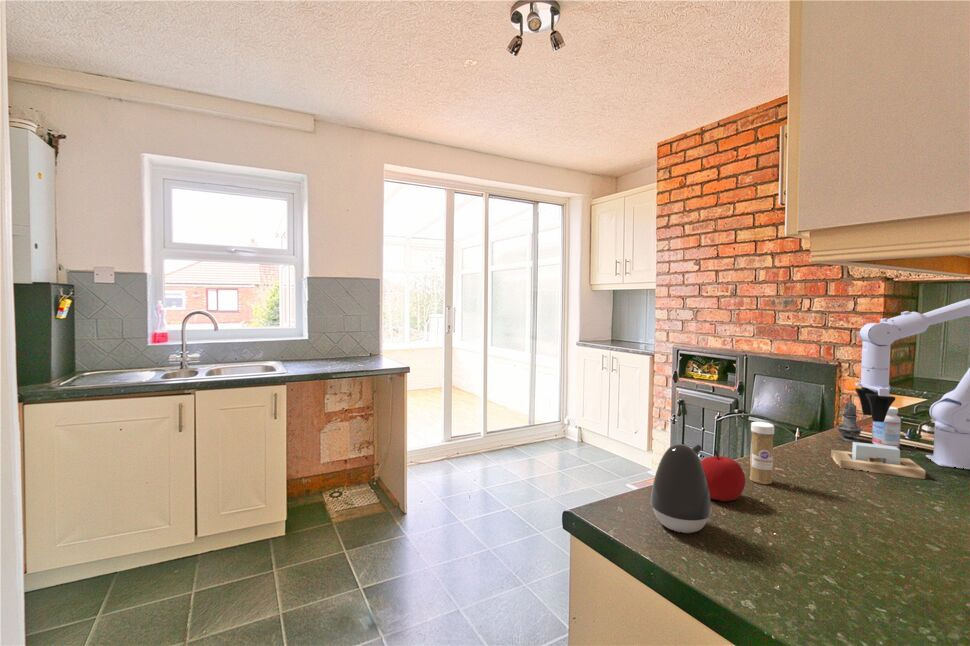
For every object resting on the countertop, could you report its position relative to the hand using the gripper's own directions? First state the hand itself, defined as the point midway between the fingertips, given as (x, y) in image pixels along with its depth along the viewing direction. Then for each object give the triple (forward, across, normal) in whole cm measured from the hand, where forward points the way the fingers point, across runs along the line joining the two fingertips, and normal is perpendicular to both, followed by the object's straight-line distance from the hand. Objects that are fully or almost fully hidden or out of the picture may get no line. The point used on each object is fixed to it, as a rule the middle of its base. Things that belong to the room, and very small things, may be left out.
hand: (873, 418), depth 121 cm
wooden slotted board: (+10, +10, -2) cm, 15 cm away
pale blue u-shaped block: (+10, +10, -2) cm, 15 cm away
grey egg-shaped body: (+11, +64, -45) cm, 79 cm away
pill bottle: (+11, -14, +7) cm, 19 cm away
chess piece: (+11, -16, -1) cm, 19 cm away
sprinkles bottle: (+11, +33, -29) cm, 45 cm away
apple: (+11, +47, -38) cm, 61 cm away
